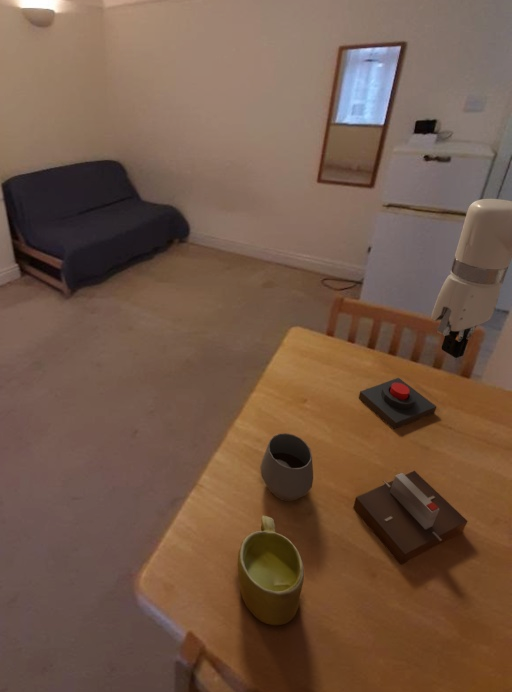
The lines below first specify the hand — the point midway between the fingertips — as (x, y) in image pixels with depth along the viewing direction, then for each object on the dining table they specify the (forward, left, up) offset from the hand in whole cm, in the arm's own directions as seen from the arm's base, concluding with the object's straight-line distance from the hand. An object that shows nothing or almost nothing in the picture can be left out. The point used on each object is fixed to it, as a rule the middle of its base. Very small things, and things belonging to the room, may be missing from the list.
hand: (451, 352), depth 79 cm
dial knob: (+20, +13, -18) cm, 30 cm away
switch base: (+20, +13, -21) cm, 32 cm away
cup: (+36, 0, -21) cm, 42 cm away
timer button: (0, -7, -17) cm, 19 cm away
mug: (+48, +12, -21) cm, 54 cm away
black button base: (0, -7, -21) cm, 22 cm away
